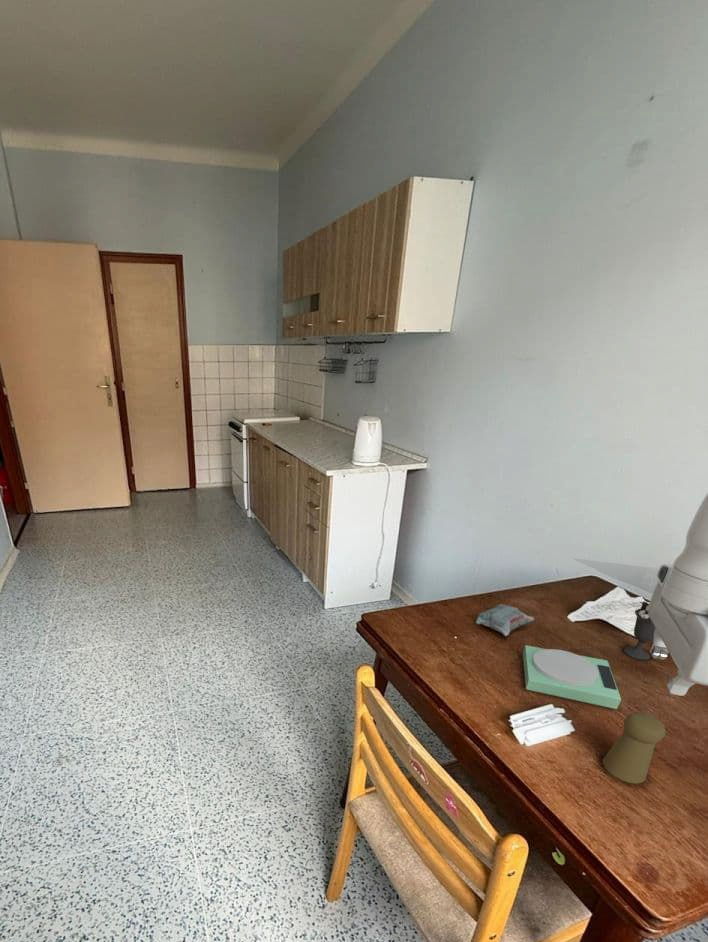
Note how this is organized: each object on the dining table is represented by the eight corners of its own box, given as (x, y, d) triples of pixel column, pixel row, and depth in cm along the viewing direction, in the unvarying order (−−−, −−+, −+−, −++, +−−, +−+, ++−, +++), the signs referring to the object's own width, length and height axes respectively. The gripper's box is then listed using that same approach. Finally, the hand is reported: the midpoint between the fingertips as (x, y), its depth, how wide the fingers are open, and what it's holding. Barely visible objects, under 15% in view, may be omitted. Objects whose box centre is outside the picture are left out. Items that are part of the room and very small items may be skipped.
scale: (603, 669, 104) (609, 656, 102) (617, 709, 92) (623, 695, 91) (522, 654, 109) (526, 641, 108) (525, 689, 98) (529, 675, 97)
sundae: (656, 665, 105) (683, 606, 98) (619, 656, 108) (643, 598, 101) (654, 651, 109) (679, 593, 102) (619, 642, 113) (641, 586, 106)
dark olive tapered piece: (655, 780, 77) (682, 730, 72) (623, 785, 76) (648, 735, 71) (624, 753, 82) (647, 704, 77) (593, 757, 82) (615, 708, 76)
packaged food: (531, 627, 119) (536, 610, 117) (504, 642, 114) (508, 624, 112) (499, 614, 126) (503, 597, 124) (472, 627, 120) (475, 610, 118)
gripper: (771, 633, 55) (718, 723, 61) (708, 567, 71) (671, 643, 78) (703, 622, 57) (658, 710, 63) (657, 560, 73) (625, 635, 80)
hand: (665, 673), depth 71 cm, fingers open, 8 cm apart
